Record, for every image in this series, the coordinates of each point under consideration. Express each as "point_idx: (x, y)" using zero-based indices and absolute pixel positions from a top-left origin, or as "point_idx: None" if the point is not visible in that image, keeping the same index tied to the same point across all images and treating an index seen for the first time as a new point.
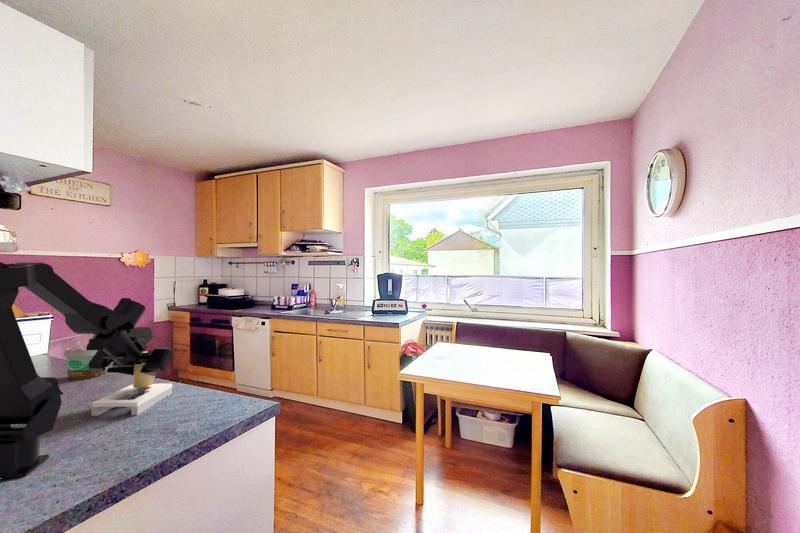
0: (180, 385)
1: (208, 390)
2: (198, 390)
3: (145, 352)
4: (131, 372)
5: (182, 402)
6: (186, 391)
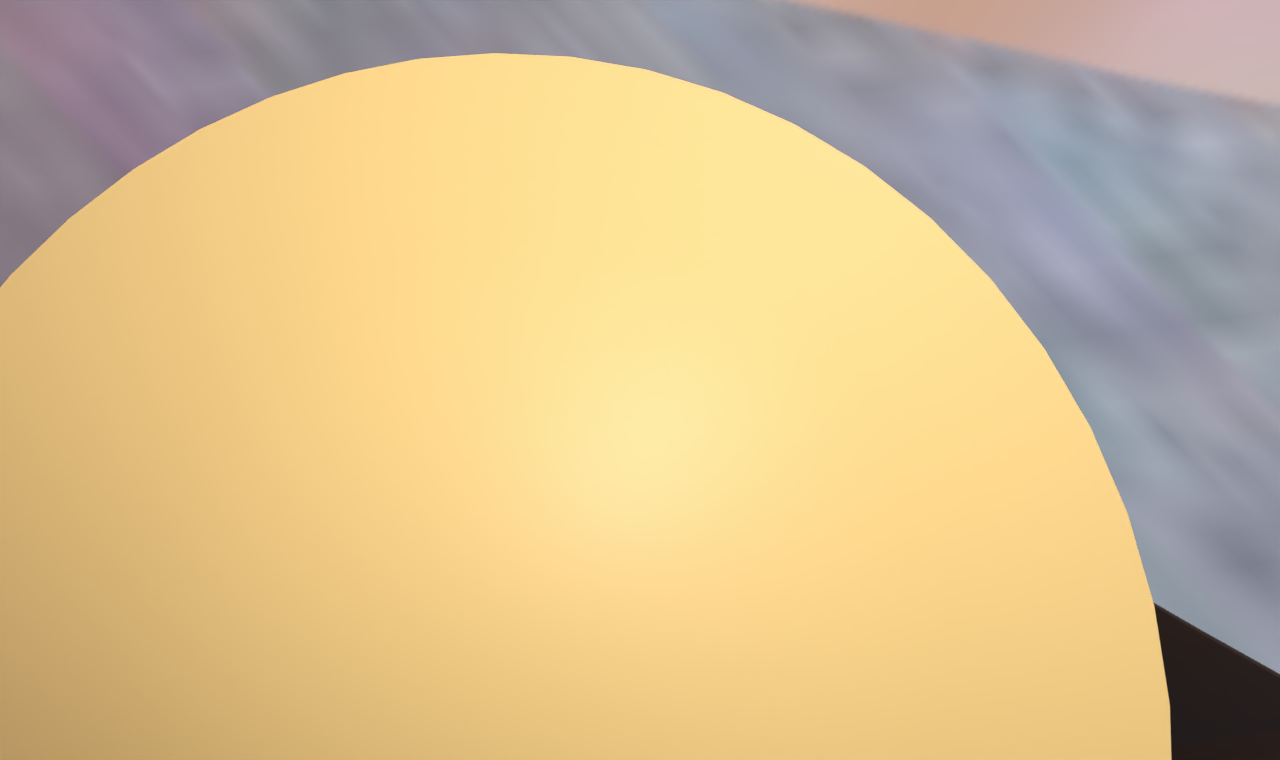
0: (717, 13)
1: (1239, 110)
2: (1103, 130)
3: (348, 410)
4: None
5: (1246, 538)
6: (971, 185)
